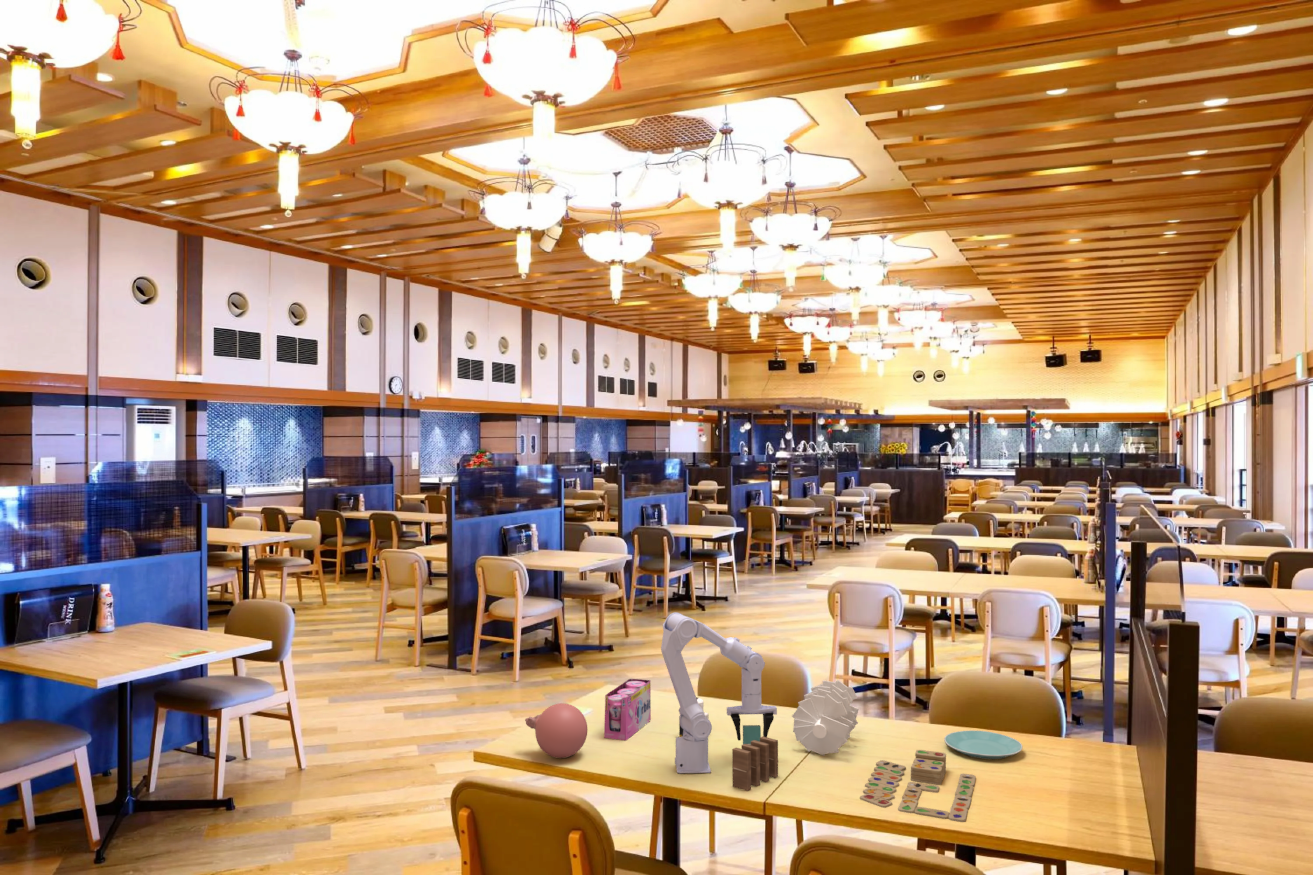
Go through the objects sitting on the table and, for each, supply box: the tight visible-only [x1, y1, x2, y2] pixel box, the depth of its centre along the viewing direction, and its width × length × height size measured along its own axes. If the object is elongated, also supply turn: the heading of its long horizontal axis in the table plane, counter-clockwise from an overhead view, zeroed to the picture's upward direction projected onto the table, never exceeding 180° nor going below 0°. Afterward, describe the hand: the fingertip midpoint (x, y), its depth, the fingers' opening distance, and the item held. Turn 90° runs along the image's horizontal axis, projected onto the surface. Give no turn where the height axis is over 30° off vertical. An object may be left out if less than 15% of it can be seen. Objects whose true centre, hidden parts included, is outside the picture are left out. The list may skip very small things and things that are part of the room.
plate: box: [943, 729, 1023, 760], centre depth 260 cm, size 22×22×3 cm
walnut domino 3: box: [751, 740, 770, 783], centre depth 237 cm, size 2×5×10 cm, turn 47°
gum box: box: [603, 678, 652, 741], centre depth 281 cm, size 24×8×14 cm, turn 160°
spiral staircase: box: [791, 679, 859, 757], centre depth 265 cm, size 18×18×25 cm
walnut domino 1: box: [731, 747, 752, 792], centre depth 231 cm, size 2×5×10 cm, turn 48°
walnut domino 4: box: [760, 735, 779, 779], centre depth 240 cm, size 2×5×10 cm, turn 48°
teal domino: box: [742, 724, 762, 745], centre depth 252 cm, size 2×5×10 cm, turn 93°
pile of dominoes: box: [859, 749, 977, 823], centre depth 230 cm, size 35×27×6 cm
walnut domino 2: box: [741, 743, 761, 787], centre depth 234 cm, size 2×5×10 cm, turn 47°
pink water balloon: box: [524, 702, 589, 759], centre depth 256 cm, size 15×20×15 cm
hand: (751, 738), depth 252 cm, fingers open, 7 cm apart
